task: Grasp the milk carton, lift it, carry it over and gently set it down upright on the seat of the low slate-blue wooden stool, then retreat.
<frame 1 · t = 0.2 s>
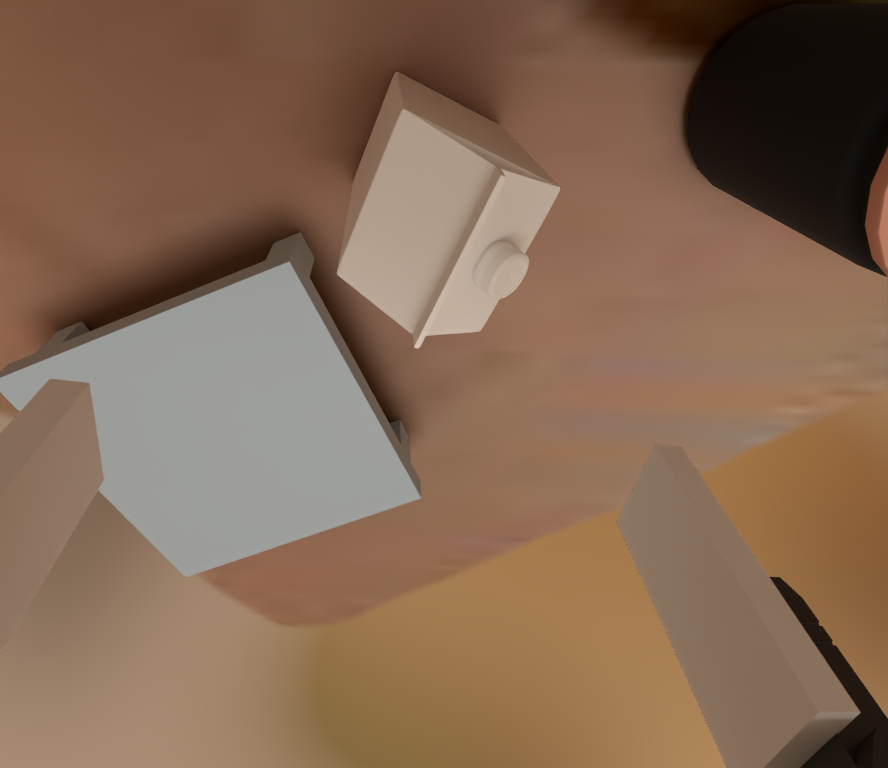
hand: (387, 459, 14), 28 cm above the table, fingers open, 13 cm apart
milk carton: (425, 153, 37), on the table
coffee jar: (760, 103, 37), on the table
stool: (248, 388, 45), on the table
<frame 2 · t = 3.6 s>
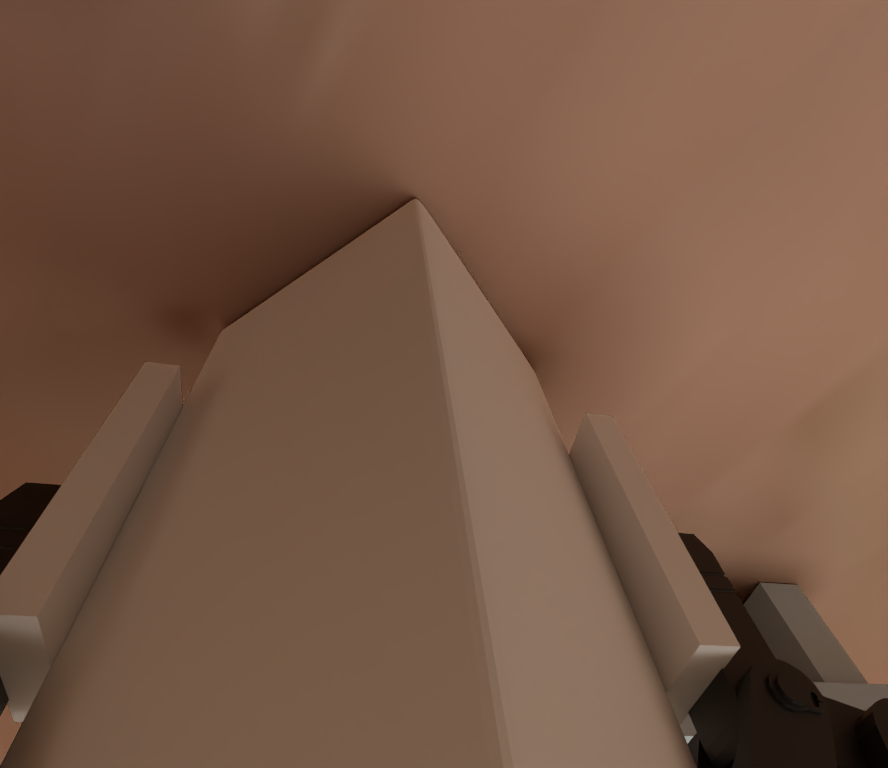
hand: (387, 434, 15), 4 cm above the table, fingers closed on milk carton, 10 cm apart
milk carton: (386, 348, 18), on the table, touching gripper
stool: (545, 693, 30), on the table
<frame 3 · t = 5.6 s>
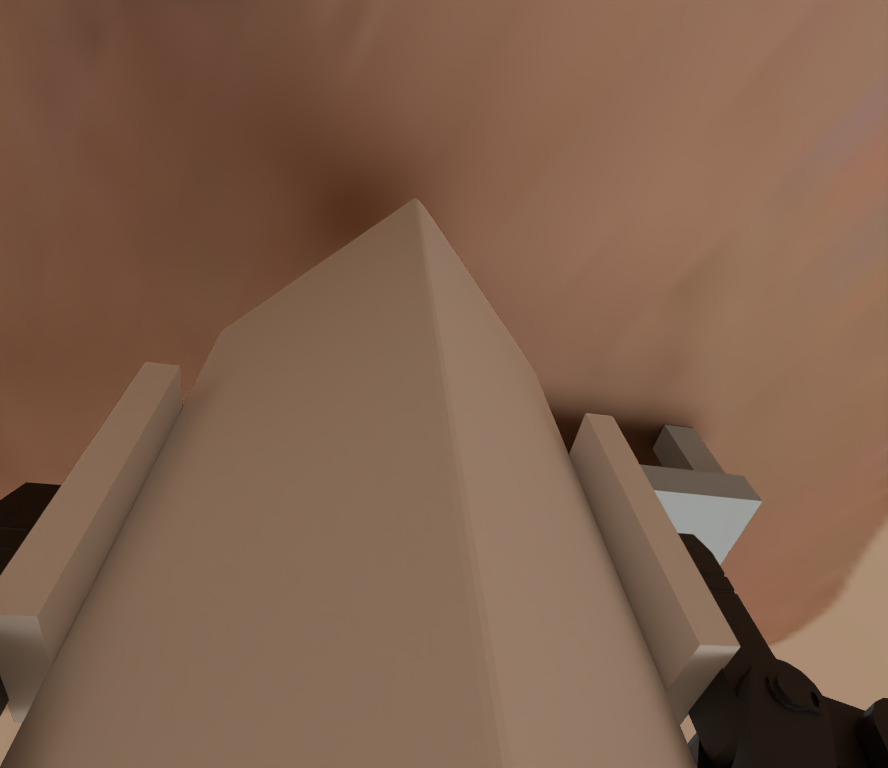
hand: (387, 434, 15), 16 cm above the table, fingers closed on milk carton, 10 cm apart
milk carton: (386, 348, 18), point 12 cm above the table, touching gripper
stool: (512, 520, 40), on the table
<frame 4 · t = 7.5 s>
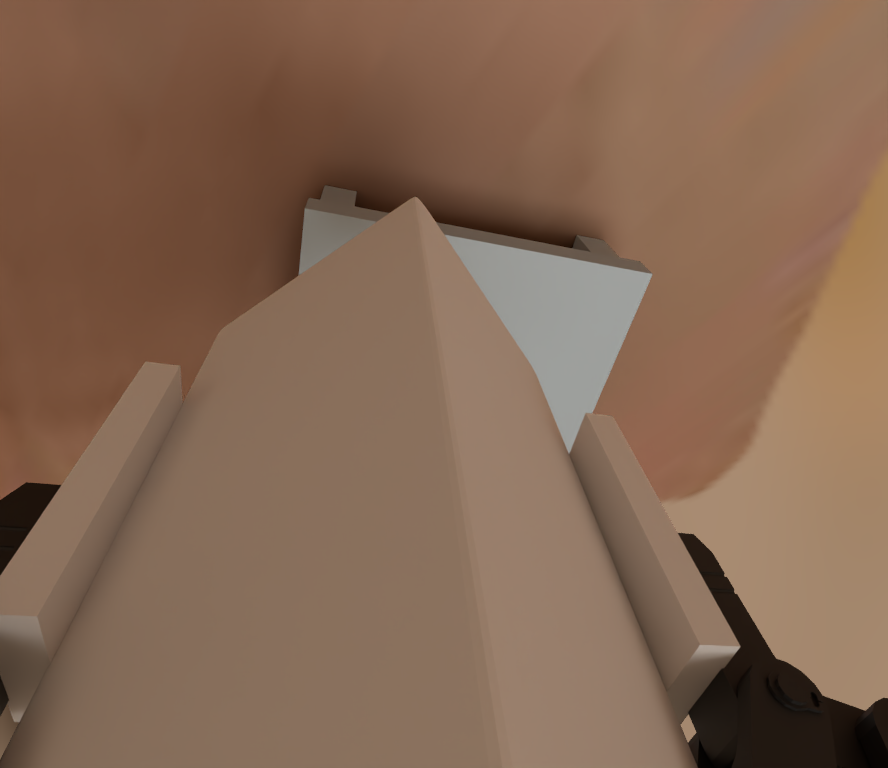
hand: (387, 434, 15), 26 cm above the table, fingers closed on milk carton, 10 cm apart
milk carton: (386, 347, 18), point 22 cm above the table, touching gripper
stool: (440, 339, 43), on the table
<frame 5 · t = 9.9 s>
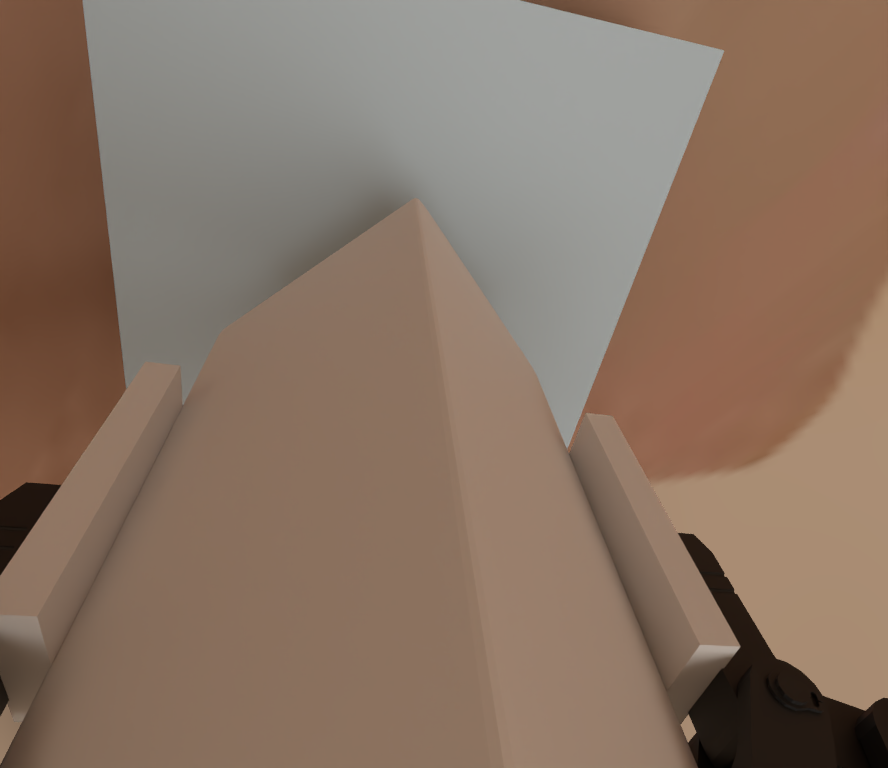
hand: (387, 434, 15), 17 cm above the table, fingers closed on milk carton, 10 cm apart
milk carton: (387, 348, 18), point 12 cm above the table, touching gripper
stool: (384, 226, 29), on the table
when the fingers open (13 cm above the table, at t = 11.7 s): milk carton drops 1 cm, resting on stool.
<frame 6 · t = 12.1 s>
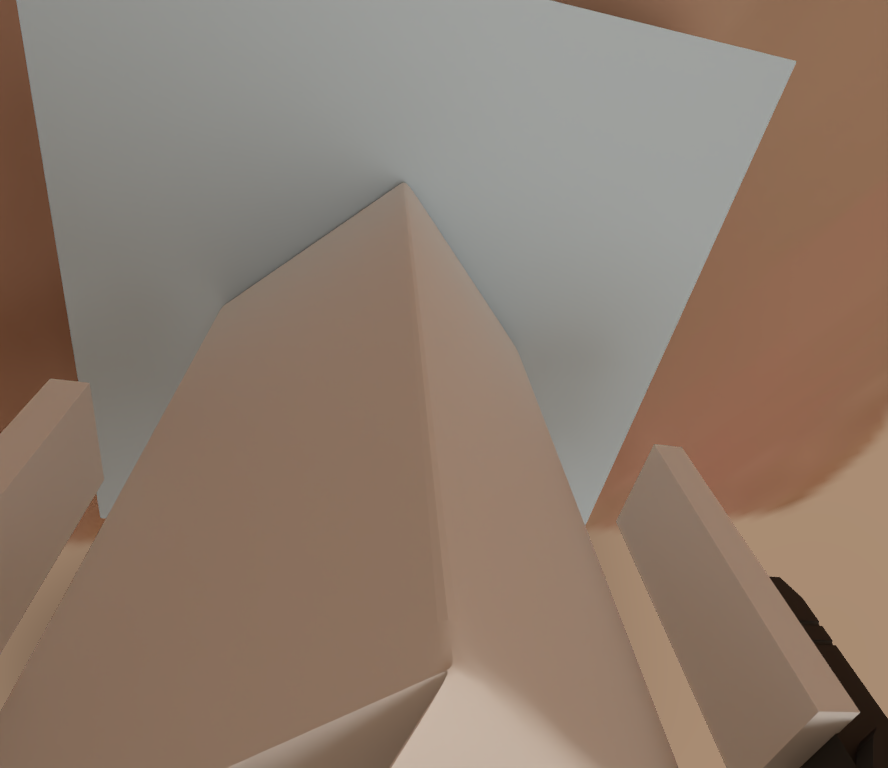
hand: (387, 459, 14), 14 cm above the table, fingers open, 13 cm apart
milk carton: (377, 325, 20), point 7 cm above the table, touching stool
stool: (386, 255, 25), on the table
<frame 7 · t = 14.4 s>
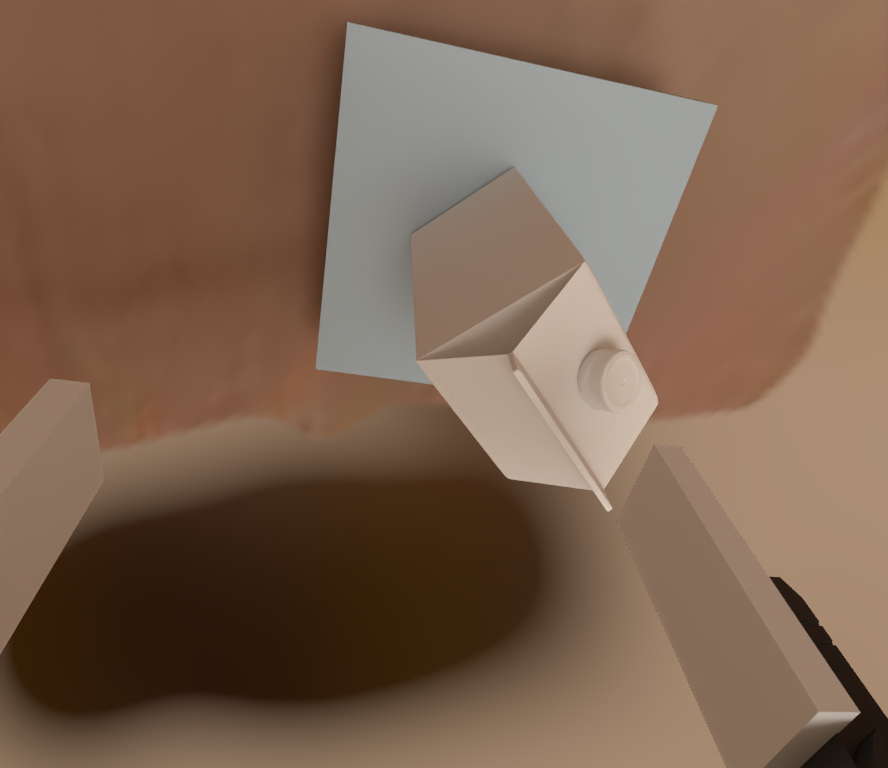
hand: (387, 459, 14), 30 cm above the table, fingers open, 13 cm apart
milk carton: (490, 248, 35), point 7 cm above the table, touching stool
stool: (482, 217, 41), on the table
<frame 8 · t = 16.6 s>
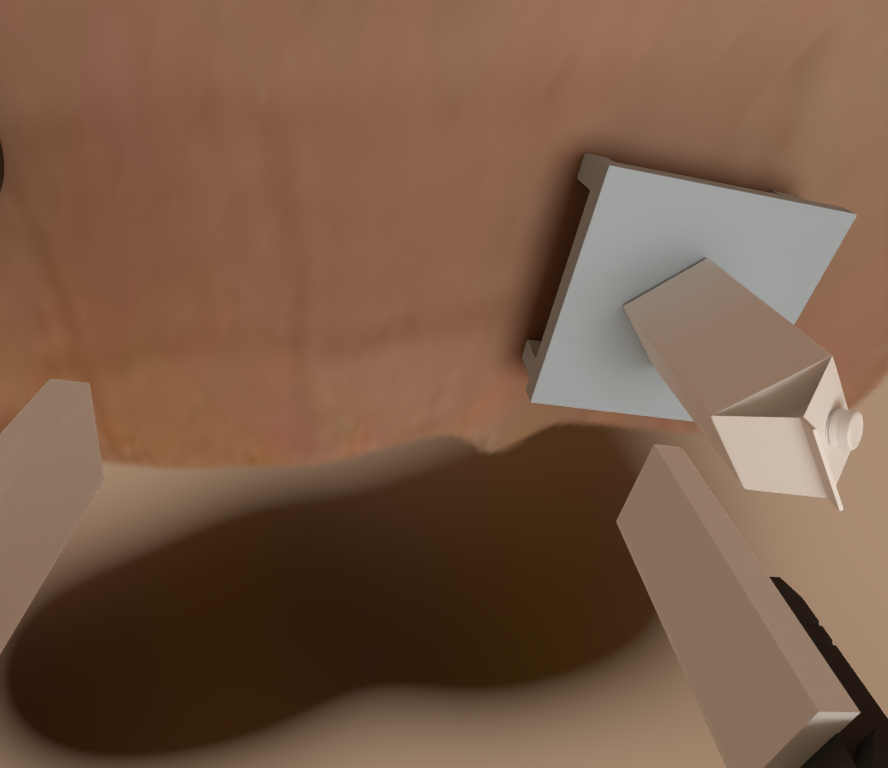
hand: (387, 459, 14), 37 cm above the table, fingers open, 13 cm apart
milk carton: (677, 313, 47), point 7 cm above the table, touching stool
stool: (648, 281, 53), on the table
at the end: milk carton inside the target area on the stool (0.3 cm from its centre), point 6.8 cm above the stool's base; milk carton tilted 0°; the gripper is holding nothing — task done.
